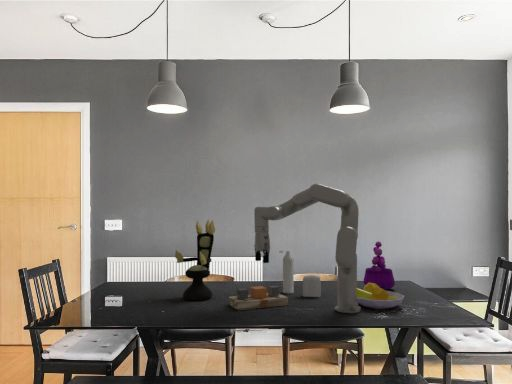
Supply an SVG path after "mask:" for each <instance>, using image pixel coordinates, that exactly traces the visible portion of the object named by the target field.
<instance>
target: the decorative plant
mask: <svg viewBox="0 0 512 384" xmlns="http://www.w3.org/2000/svg"><path fill="white" fill-rule="evenodd" d="M381 247H382V242H381V241H375V247H373V249H372V250H373V253H374V255H375V256H373V257H372V260H371V263H372V265H371V266H370V267H367V268H365V272H364V277H363V285H364V286H365V285H366V284H368V283H369V282H370V283H375V284H376V285H378V286H379V287H380V288H382V289H384V290H385V291H388V290H390V289H392V288H394V287H395V284H396V282H395V281H396V280H395V277H394V273H393V269H391V268H387V266H386V261H385V257H384V256H382V254H383V250H382V248H381Z"/></svg>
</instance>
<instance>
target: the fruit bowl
mask: <svg viewBox="0 0 512 384" xmlns="http://www.w3.org/2000/svg"><path fill="white" fill-rule="evenodd" d="M404 298H405V295H404V294H400V293H399V292H396V291H395V292H394V291H390V290H384V289H382V288H380V287H379V286H378V285H376V284H375V283H370V282H369V283H368V284H366V285H365V284H364V286H363V288H362V289H361V288H358V287H357V303H358V305H361V306H362V307H364V308H370V309H374V310H383V309H384V310H385V309H392V308H394V307H396V306H399V305H401V304H402V303H403V300H404Z"/></svg>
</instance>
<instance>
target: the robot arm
mask: <svg viewBox="0 0 512 384" xmlns="http://www.w3.org/2000/svg"><path fill="white" fill-rule="evenodd" d="M317 203H322V204H325V205H328V206H332V207H335V208H340V210H341V211H340V212H341V215H340V219H341V220H340V229H339V230H338V231H337V235H336V245H335V262H336V264H337V305H336V306H334V311H336V312H337V313H342V314H358V313H360V312H361V306H359V303H357V288H358V256H357V246H358V243H357V242H358V239H359V230H358V228H359V216H360V215H359V213H360V212H359V206H358V203H357V201H356V199H355V198H354V197H353V196H352V195H350V194H349V193H348V192H346V191H345V190H344V191H343V190H341V189H337V188H334V187H330V186H326V185H324V184H321V183H313V184H312V185H310V186H309V187H308V188H306V189H305V190H303V191H300V192H298V193H296V194H294V195H293V196H292V197H291V198H290V199H288V201H284V202H283V203H281V204H278V205H273V206H268V207H267V206H256V207H255V208H254V210H253V211H254V217H253V218H254V234H255V235H254V245H253V247H254V254H255V255H254V256H255V259H254V260H255V261H256V262H260V261H262V263H263V264H269V263H270V250H271V242H270V231H269V229H270V227H269V225H270V224H269V221H281V220H283V219H285V218H287V217H289V216H291V215H293V214H295V213H298V212H300V211H302V210H304V209H307V208H308V207H310V206H313V205H314V204H317ZM261 252H262V253H261ZM262 254H263V255H262Z"/></svg>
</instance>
